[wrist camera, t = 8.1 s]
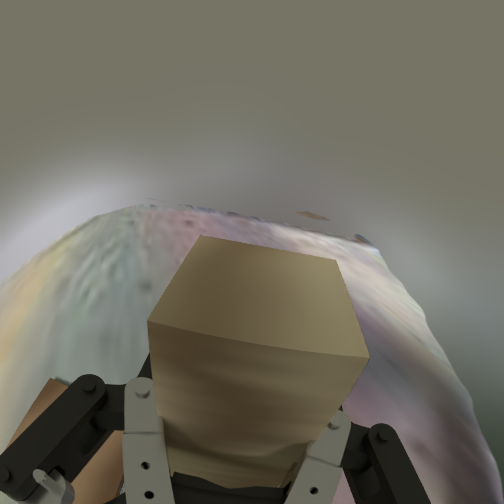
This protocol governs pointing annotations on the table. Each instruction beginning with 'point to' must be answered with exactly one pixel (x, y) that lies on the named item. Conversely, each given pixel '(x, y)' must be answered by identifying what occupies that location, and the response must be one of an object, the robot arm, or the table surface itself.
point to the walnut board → (98, 468)
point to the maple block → (251, 359)
